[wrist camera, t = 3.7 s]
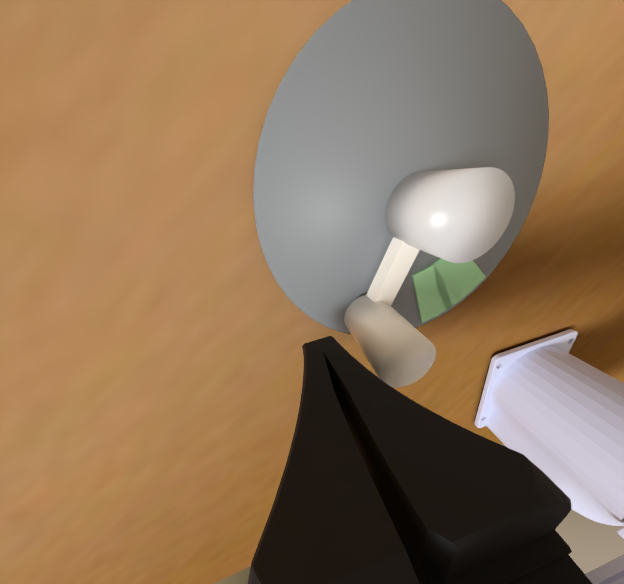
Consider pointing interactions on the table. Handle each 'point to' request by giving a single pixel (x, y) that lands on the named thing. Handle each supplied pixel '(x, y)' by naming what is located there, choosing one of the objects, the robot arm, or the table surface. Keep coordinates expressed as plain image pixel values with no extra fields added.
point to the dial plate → (393, 145)
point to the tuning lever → (436, 241)
